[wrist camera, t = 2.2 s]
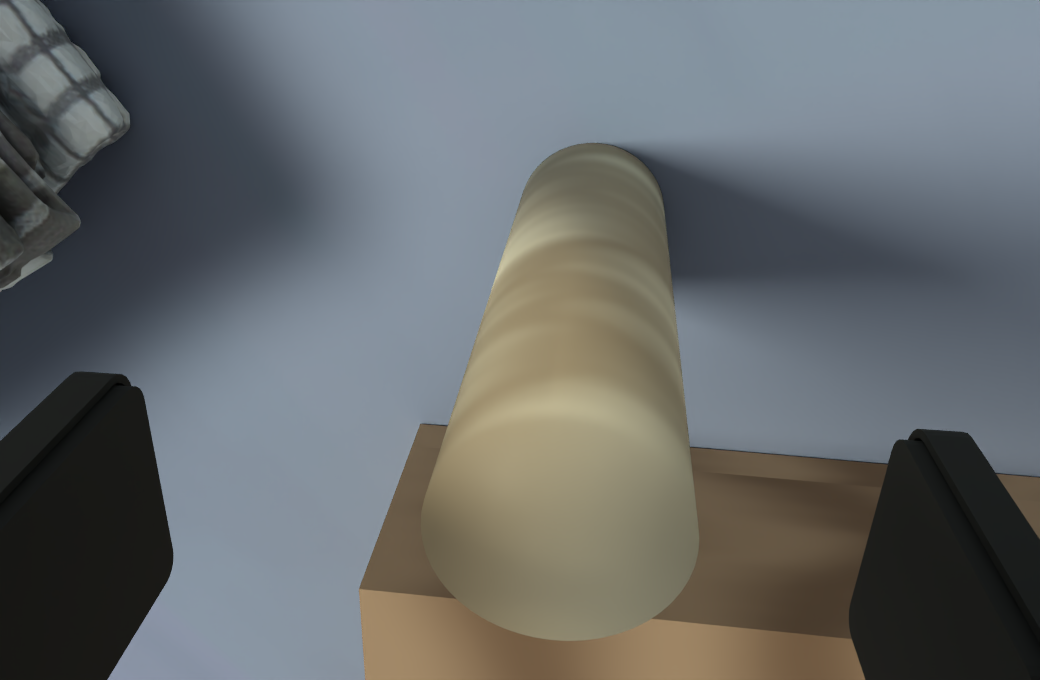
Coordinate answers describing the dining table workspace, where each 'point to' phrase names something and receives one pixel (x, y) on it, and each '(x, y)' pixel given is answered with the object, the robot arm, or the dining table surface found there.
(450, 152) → the dining table surface
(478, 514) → the peg
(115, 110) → the towel
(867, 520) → the bore block
